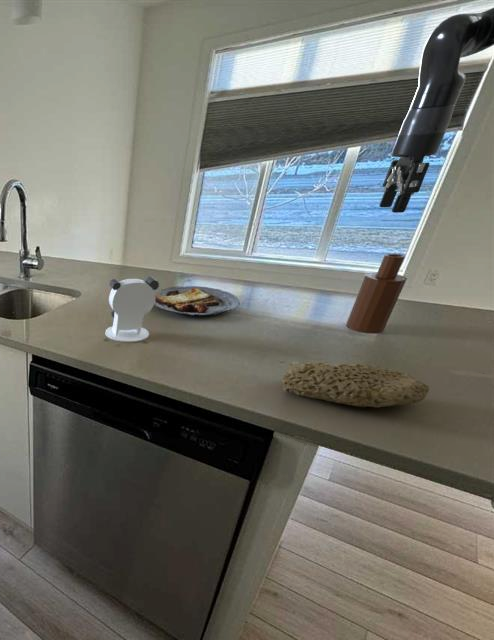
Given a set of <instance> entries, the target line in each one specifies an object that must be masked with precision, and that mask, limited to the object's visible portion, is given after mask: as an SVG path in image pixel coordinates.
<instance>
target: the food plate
mask: <svg viewBox="0 0 494 640" xmlns="http://www.w3.org/2000/svg"><path fill="white" fill-rule="evenodd" d="M154 293H155V297H156V300H155V304H154V307H156V308H157V309H159V310H162V311H166V312H170V313H171V312H172V313H175V314H177V315H186V316H187V317H188V316H194V315H197V316H200V317H201V316H212V315H213V316H216V315H218V314H221V313H224V312H227V311H231V310H237V309H239V308H240V306H241V301H240V299H239V298H238V297H237V296H236V295H235V294H232V292H229V291H225V290H223V289H220V288H214V287H208V286H199V285H189V286H185V285H184V286H180V285H177V286H172V287H166V288H163V289H159V290H157V291H156V290H155V291H154Z"/></svg>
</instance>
